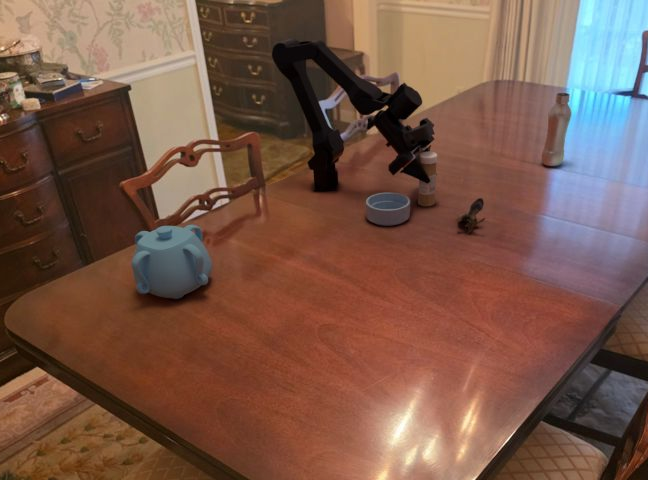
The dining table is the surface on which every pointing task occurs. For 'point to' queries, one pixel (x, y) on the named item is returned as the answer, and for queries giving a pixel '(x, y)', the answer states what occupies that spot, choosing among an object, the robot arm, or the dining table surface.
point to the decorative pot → (170, 261)
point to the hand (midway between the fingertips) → (432, 179)
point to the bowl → (387, 208)
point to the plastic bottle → (557, 131)
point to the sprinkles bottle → (429, 165)
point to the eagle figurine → (472, 215)
